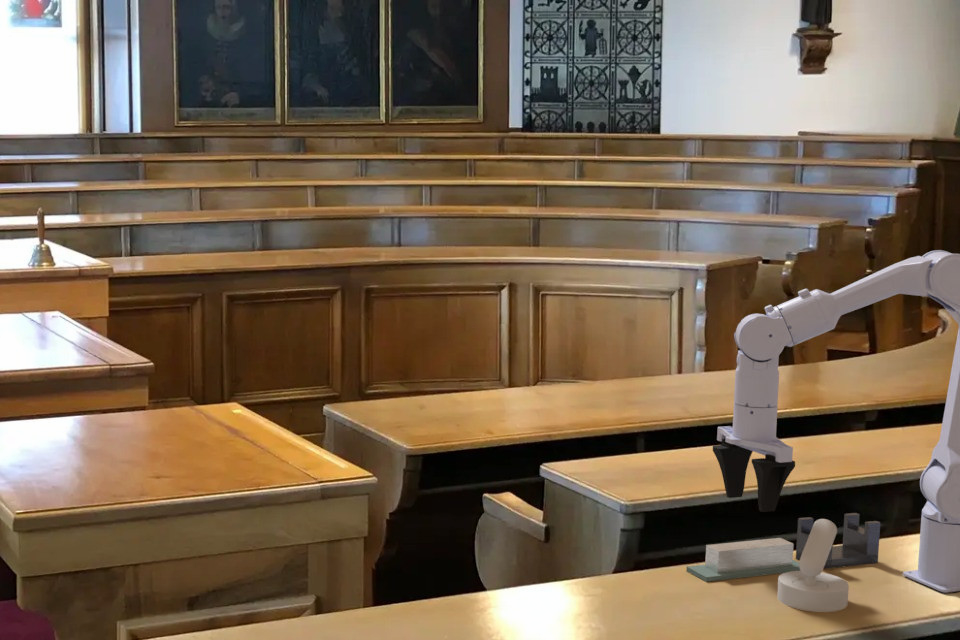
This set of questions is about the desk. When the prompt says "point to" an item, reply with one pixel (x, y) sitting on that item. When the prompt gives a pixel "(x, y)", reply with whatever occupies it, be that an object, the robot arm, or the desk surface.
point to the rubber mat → (739, 572)
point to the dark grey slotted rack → (846, 542)
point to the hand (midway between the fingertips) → (750, 503)
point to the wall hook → (814, 575)
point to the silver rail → (749, 555)
